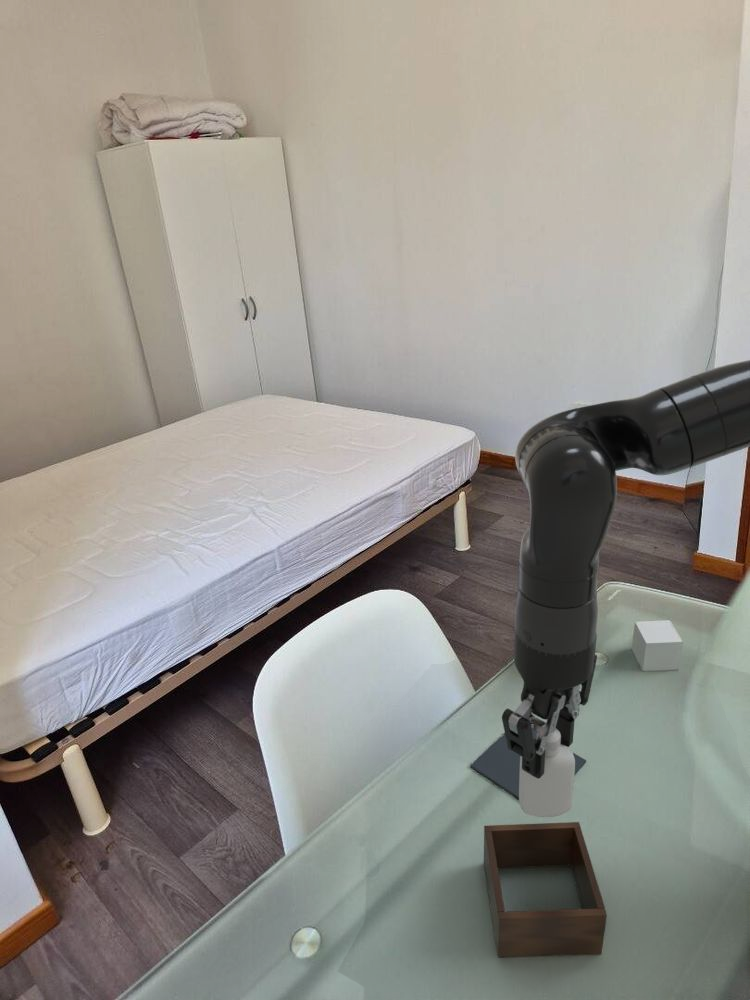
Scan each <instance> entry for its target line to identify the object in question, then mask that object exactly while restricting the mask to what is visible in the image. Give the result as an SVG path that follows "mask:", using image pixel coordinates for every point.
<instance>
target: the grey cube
mask: <svg viewBox="0 0 750 1000" xmlns="http://www.w3.org/2000/svg"><path fill="white" fill-rule="evenodd" d="M683 643H684V641H683V640H682V638H681V636H680V635H679V633H678V631H677V630H676V628H675V626H674V625H673V623H672V622H671V620H668V619H666V620H647V621H646V620H642V621H634V626H633V634H632V642H631V651H632V653H633V655H634V657H635V659H636V661H637V663H638V665H639V667H640V669H641V671H642V672H657V671H659V672H661V671H678V670H679V667H680V662H681V655H682V648H683Z"/></svg>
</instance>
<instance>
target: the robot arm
mask: <svg viewBox="0 0 750 1000" xmlns="http://www.w3.org/2000/svg"><path fill="white" fill-rule="evenodd" d="M749 447H750V359H748V360H742V361H738V362H732V363H729V364H725V365H721V366H717V367H714V368H710V369H707V370H703V371H702V372H698V373H696V374H693V375H690V376H688V377H686V378H683V379H681V380H678V381H675V382H673V383H670V384H667V385H664V386H662V387H660V388H657V389H654V390H651V391H649V392H647V393H645V394H642V395H640V396H636V397H631V398H627V399H625V398H624V399H618V400H611V401H606V402H600V403H595V404H591V405H586V406H580V407H576V408H572V409H567V410H564V411H561V412H557V413H555V414H552V415H550V416H548V417H545V418H544V419H542V420H540V421H538V422H537V423H535V424H534V425H532V426H531V427H530V428H528V429H527V430H526V431H525V433H523V435H522V436H521V438H520V439H519V441H518V443H517V446H516V449H515V454H514V458H515V467H516V469H517V472H518V474H519V476H520V478H521V480H522V482H523V484H524V486H525V489H526V491H527V493H528V498H529V507H530V512H529V513H530V516H529V517H530V518H529V520H530V521H529V527H528V528H527V529H526V531H524V533H523V535H522V537H521V541H520V545H519V558H518V586H517V593H516V599H515V604H514V605H515V607H514V639H513V640H514V641H513V642H514V643H513V645H514V646H513V661H514V665H515V668H516V670H517V672H518V674H519V675H520V677H521V678H522V681H523V687H522V691H521V694H520V702H521V703H520V704H519V705H518V707H516V709H515V710H511V709H510V708H506V709H504V711H503V713H502V715H501V721H502V725H503V730H504V733H505V735H506V740H507V745H508V749H510V750H512V751H513V752H515V753H517V754H518V755H520V756H521V757H522V769H523V770H524V771H525V772H527V773H529V774H530V775H532V776H534V777H536V778H538V779H539V778H541V776H542V775H543V774H544V767H545V747H546V743H547V739H548V735H550V734H552V733H554V731H555V728H556V729H557V730H558V731H559V732H560V734H561V742H560V744H562V745H565V746H567V747H569V748H570V746H572V744H573V743H574V734H575V733H574V732H575V720H576V719H577V718H578V717H579V716H580V705H581V706H585V705H587V703H588V701H589V699H590V694H591V688H592V685H593V680H594V679H593V678H594V674H595V669H596V664H597V662H598V661H597V660H598V655H597V654H596V650H595V642H596V643H597V640H596V634H597V630H598V629H597V628H598V618H599V617H598V616H599V606H598V582H599V569H600V552H601V551H602V548H603V546H604V544H605V541H606V539H607V535H608V532H609V529H610V526H611V522H612V520H613V517H614V513H615V509H616V504H617V497H618V480H617V472H618V471H622V470H623V471H624V470H627V469H638V470H641V471H643V472H646V473H649V474H651V475H654V476H667V475H668V476H669V475H671V474H675V473H678V472H682V471H686V470H687V469H688V470H689V469H691V468H694V467H696V466H700V465H702V464H705V463H708V462H710V461H714V460H716V459H719V458H722V457H725V456H728V455H731V454H733V453H735V452H736V453H737V452H739V451H742V450H743V449H747V448H749ZM594 653H595V654H594ZM580 688H581V689H580ZM544 720H545V721H546V722H545V721H544ZM532 729H533V730H535V731H536V732H538V734H539V736H538V740H537V739H535V738H533V733H532Z"/></svg>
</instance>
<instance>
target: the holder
mask: <svg viewBox="0 0 750 1000" xmlns="http://www.w3.org/2000/svg"><path fill="white" fill-rule="evenodd" d="M563 866H565V867H566V866H570V869H571V873H572V876H573V879H574V883H575V887H576V890H577V894H578V897H579V902H580V905H581V908H578V909H577V908H575V909H574V908H571V909H547V910H546V909H545V910H520V911H519V910H517V911H506V910H505V909H506V908H505V904H504V897H503V892H502V886H501V880H500V873H499V869H507V868H509V869H510V868H534V867H535V868H536V867H563ZM483 867H484V874H485V880H486V887H487V894H488V902H489V908H490V914H491V922H492V927H493V934H494V940H495V947H496V948H495V949H496V954H497V958H521V957H522V958H523V957H549V956H550V957H553V956H581V955H582V956H583V955H602V953H603V947H604V939H605V933H606V925H607V919H608V918H607V917H608V913H607V910H606V907H605V904H604V900H603V897H602V894H601V890H600V887H599V883H598V880H597V876H596V874H595V871H594V867H593V864H592V861H591V857H590V854H589V850H588V847H587V844H586V840H585V837H584V834H583V830H582V828H581V824H580V822H579V821H573V822H572V821H571V822H570V821H568V822H544V823H543V822H542V823H520V824H518V823H517V824H494V825H484V826H483Z"/></svg>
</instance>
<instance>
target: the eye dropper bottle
mask: <svg viewBox="0 0 750 1000" xmlns="http://www.w3.org/2000/svg"><path fill="white" fill-rule="evenodd" d="M538 736H539V734H538V732H537V740H538ZM560 742H561V734H560V732H559V731H558V730H557V729H556V728H555V731H554V733H552V734H550V735H548V739H547V743H546V747H545V767H544V774H543V775H542V776H541V778H539V779H538V778H536V777H534V776H532V775H530V774H529V773H527V772H525V771H524V770H523V769H522V757H521V756H520V776H519V799H518V800H519V805H520V809H521V810H522V812H523V813H524V814H526V815H529V816H533V817H537V818H553V817H558V816H562V815H564V814H567V813H568V812H570V811H571V810H572V808H573V800H574V786H575V776H576V774H575V759H574V755H573V753H574V752H573V751H572V749H571V748H570V746H569V747H567V746H565V745H562V744H560ZM572 752H573V753H572Z"/></svg>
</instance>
